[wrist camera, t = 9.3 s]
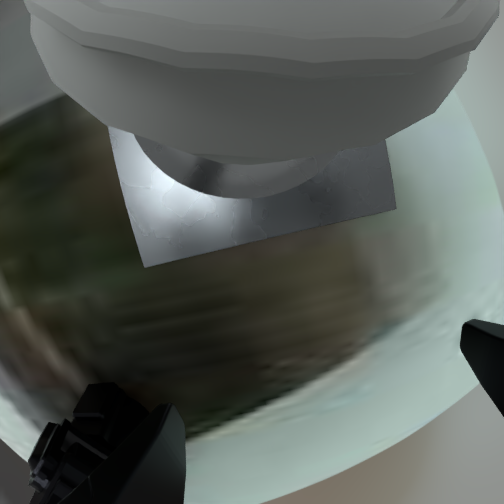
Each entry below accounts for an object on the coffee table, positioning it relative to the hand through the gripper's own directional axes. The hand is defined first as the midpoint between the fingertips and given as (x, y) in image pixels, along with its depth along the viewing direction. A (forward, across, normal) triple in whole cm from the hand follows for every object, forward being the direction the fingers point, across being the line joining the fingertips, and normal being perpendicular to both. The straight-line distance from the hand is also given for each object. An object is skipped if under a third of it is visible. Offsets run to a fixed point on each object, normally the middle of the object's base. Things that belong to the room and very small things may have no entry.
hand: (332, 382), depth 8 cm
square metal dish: (+11, 0, -10) cm, 15 cm away
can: (+8, 0, -10) cm, 12 cm away
